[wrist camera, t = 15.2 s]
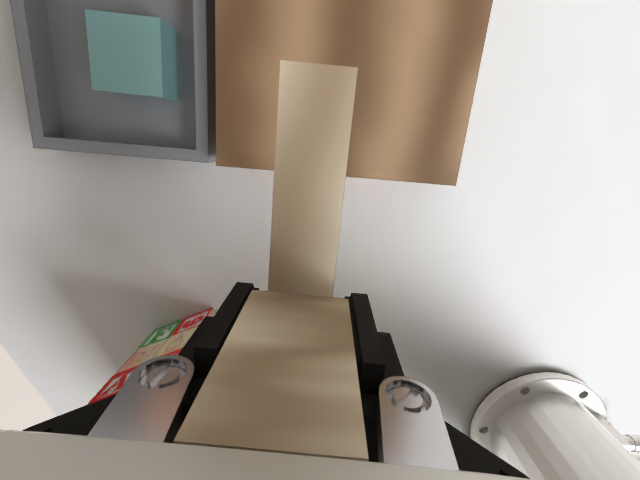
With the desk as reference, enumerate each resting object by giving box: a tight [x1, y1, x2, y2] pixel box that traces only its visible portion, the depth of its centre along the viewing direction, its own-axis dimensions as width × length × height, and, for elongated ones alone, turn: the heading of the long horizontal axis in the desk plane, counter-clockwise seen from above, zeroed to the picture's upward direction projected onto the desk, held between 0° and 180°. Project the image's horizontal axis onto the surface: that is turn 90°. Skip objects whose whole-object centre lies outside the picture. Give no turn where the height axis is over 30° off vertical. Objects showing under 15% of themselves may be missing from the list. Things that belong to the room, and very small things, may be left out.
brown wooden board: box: [215, 0, 493, 186], centre depth 21 cm, size 16×20×4 cm
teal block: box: [85, 9, 178, 101], centre depth 22 cm, size 4×4×2 cm
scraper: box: [174, 60, 369, 461], centre depth 9 cm, size 3×16×8 cm, turn 175°
